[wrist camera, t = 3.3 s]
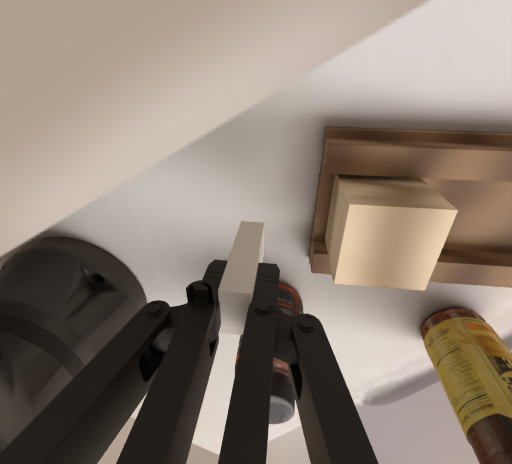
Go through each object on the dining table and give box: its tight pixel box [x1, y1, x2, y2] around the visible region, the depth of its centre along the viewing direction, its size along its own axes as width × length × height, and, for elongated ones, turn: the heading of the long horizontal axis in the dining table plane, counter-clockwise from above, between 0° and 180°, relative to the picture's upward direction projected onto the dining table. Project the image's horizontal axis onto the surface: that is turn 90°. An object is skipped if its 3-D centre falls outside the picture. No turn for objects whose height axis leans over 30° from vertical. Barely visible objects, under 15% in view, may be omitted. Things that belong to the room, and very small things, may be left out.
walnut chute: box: [309, 127, 512, 288], centre depth 22 cm, size 24×12×3 cm, turn 89°
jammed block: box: [325, 174, 458, 291], centre depth 20 cm, size 6×6×6 cm
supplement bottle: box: [235, 284, 303, 424], centre depth 26 cm, size 6×6×11 cm
